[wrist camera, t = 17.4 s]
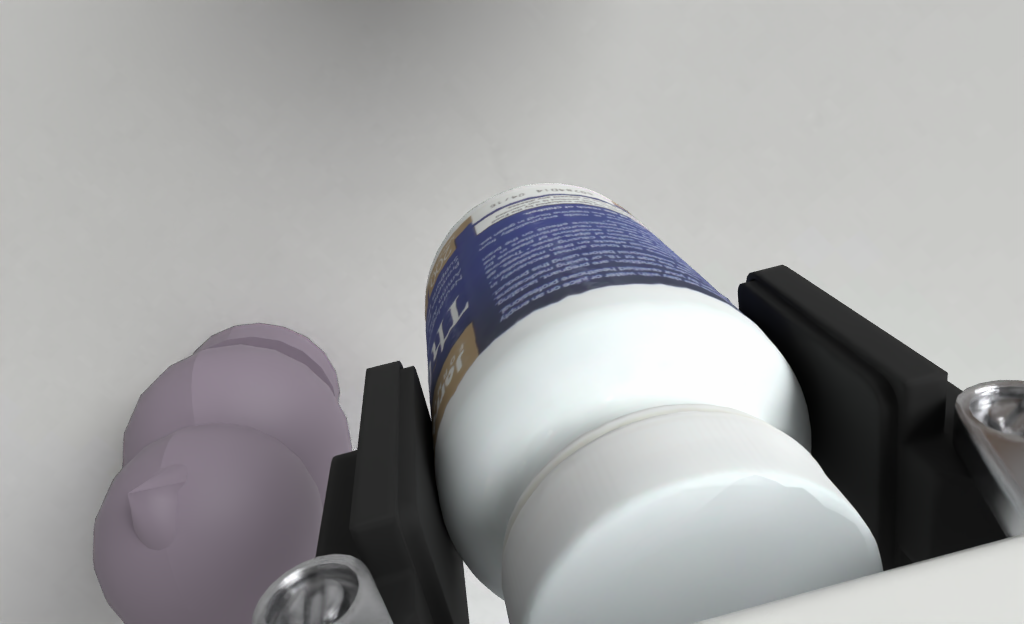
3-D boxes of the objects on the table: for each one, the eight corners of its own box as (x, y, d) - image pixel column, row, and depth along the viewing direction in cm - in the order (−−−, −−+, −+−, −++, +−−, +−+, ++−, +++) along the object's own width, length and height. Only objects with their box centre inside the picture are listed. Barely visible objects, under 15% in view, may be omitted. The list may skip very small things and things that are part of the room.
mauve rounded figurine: (359, 475, 32) (335, 714, 21) (176, 478, 31) (50, 733, 20) (359, 303, 29) (332, 478, 18) (155, 297, 28) (-9, 482, 17)
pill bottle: (395, 208, 15) (382, 494, 6) (638, 153, 15) (969, 348, 6) (452, 419, 17) (504, 856, 8) (664, 368, 17) (934, 736, 9)
